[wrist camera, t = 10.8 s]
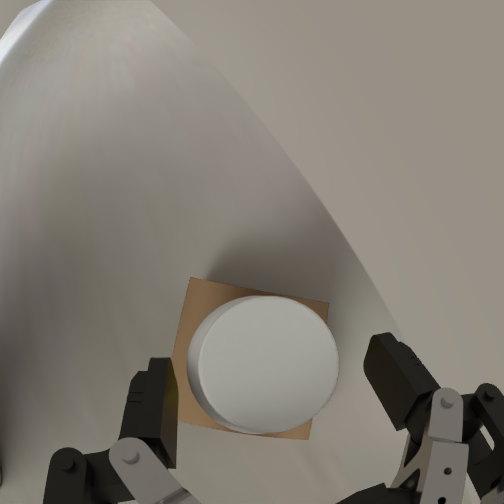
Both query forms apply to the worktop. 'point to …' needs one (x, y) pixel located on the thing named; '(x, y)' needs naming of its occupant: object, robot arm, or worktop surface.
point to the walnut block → (193, 313)
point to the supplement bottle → (262, 364)
